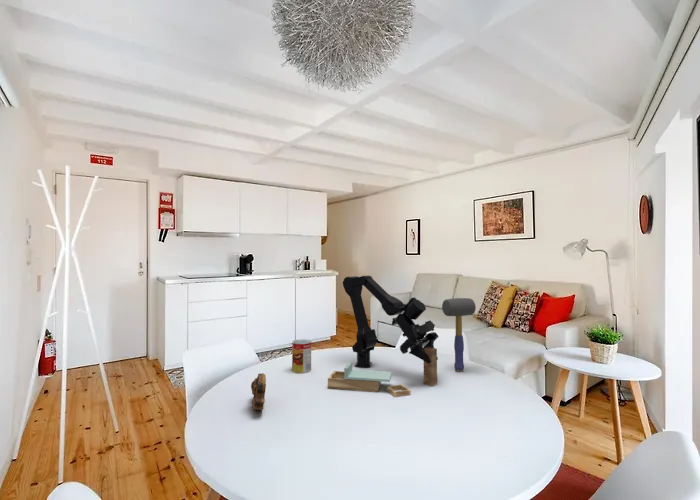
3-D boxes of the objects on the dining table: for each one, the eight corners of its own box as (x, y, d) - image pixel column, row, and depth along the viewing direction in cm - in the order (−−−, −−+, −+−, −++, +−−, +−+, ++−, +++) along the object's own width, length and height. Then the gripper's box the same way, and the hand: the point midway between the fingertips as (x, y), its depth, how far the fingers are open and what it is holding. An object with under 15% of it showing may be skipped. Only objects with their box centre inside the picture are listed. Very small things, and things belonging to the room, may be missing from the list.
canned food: (299, 366, 153) (299, 338, 154) (314, 369, 150) (314, 340, 150) (288, 371, 146) (288, 342, 147) (304, 374, 143) (304, 344, 143)
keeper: (386, 390, 125) (386, 386, 125) (402, 388, 127) (402, 384, 127) (394, 397, 120) (394, 392, 120) (410, 394, 121) (410, 390, 122)
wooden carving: (248, 399, 118) (248, 368, 118) (262, 397, 120) (262, 367, 120) (253, 420, 103) (253, 385, 103) (269, 417, 104) (269, 383, 105)
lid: (349, 371, 135) (349, 361, 135) (391, 374, 132) (391, 363, 132) (344, 379, 126) (344, 368, 127) (389, 382, 123) (389, 370, 123)
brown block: (423, 384, 132) (423, 348, 132) (428, 381, 134) (428, 347, 135) (432, 386, 129) (431, 350, 130) (437, 384, 132) (436, 348, 132)
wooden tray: (333, 380, 136) (333, 370, 136) (380, 383, 133) (380, 373, 133) (327, 388, 127) (327, 378, 127) (377, 392, 124) (377, 382, 124)
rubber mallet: (466, 366, 153) (466, 296, 153) (477, 372, 146) (477, 298, 146) (441, 369, 149) (440, 297, 150) (451, 375, 142) (450, 299, 143)
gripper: (406, 317, 129) (433, 353, 121) (434, 311, 142) (460, 344, 134) (389, 335, 134) (414, 371, 126) (417, 328, 147) (441, 361, 139)
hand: (433, 361), depth 131 cm, fingers open, 5 cm apart
